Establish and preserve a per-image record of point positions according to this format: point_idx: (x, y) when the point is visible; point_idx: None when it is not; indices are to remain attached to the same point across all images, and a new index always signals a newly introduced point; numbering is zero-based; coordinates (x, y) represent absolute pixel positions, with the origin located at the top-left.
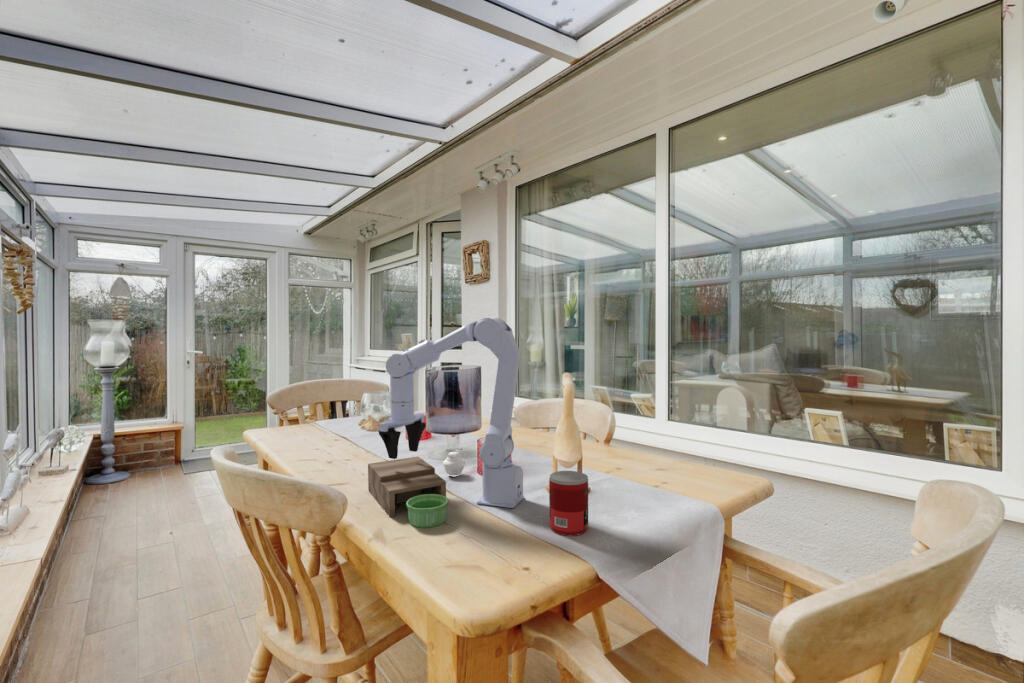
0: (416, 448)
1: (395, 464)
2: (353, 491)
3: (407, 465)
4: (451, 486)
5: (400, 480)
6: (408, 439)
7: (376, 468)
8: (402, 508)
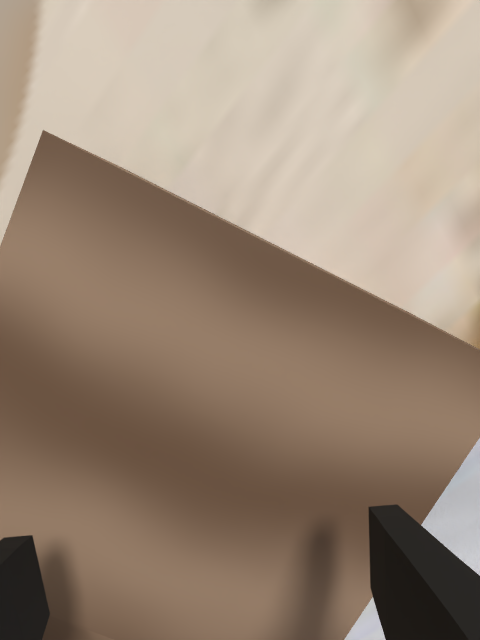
0: (389, 630)
1: (199, 391)
2: (52, 83)
3: (238, 500)
4: (441, 518)
5: None
6: (442, 608)
7: (2, 343)
8: None
